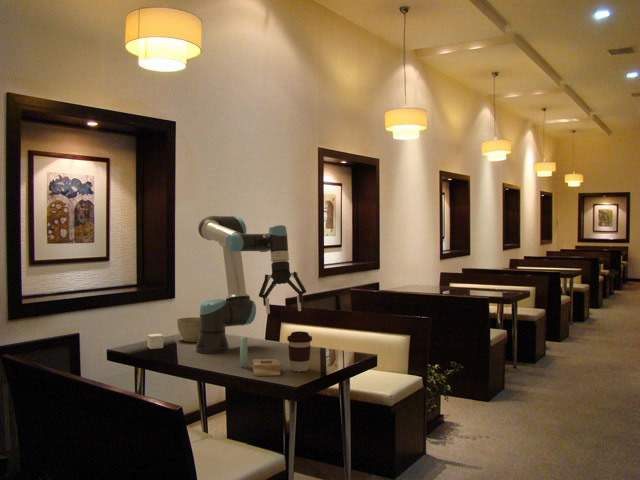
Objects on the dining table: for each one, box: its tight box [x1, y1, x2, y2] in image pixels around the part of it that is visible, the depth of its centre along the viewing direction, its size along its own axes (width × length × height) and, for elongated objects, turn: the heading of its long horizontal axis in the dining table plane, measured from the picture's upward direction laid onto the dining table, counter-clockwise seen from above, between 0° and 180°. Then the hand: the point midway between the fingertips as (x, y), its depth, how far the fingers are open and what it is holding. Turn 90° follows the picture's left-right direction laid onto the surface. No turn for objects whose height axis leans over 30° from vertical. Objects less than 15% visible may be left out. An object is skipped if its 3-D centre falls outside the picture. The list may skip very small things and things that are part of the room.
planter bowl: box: [176, 316, 200, 343], centre depth 285 cm, size 16×16×11 cm
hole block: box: [252, 358, 281, 377], centre depth 222 cm, size 10×10×4 cm
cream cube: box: [146, 333, 164, 350], centre depth 267 cm, size 6×6×6 cm
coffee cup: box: [286, 331, 313, 373], centre depth 226 cm, size 10×10×15 cm
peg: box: [239, 336, 248, 369], centre depth 230 cm, size 3×3×12 cm
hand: (283, 312), depth 234 cm, fingers open, 13 cm apart
